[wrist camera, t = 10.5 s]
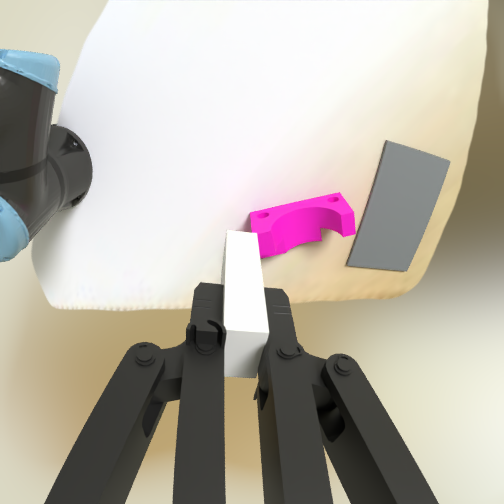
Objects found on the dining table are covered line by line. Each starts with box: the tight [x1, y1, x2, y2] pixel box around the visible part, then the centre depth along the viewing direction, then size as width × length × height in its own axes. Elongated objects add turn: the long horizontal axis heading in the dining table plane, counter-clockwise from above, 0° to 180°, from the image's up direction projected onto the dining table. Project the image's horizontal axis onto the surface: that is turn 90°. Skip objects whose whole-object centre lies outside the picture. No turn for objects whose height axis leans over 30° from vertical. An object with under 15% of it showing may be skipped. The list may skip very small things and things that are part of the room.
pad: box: [346, 140, 450, 271], centre depth 52 cm, size 14×24×1 cm, turn 171°
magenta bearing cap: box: [250, 192, 356, 259], centre depth 49 cm, size 15×6×8 cm, turn 104°
